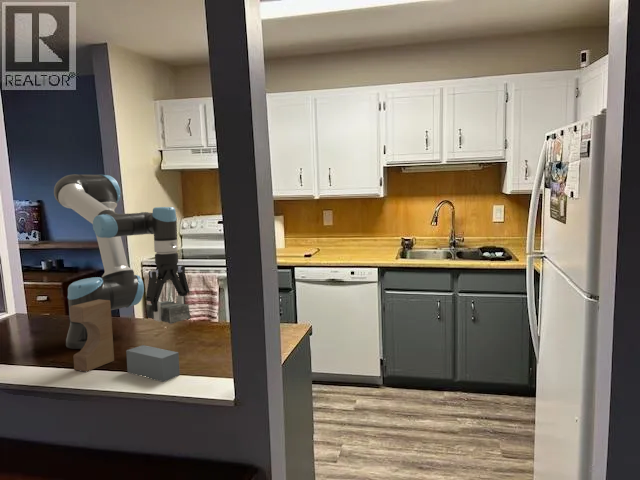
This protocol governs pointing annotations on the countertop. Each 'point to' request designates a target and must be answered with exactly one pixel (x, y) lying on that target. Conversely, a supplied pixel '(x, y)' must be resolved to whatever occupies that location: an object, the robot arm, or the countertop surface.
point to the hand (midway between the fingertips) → (169, 317)
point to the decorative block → (94, 334)
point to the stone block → (170, 311)
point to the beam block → (153, 362)
